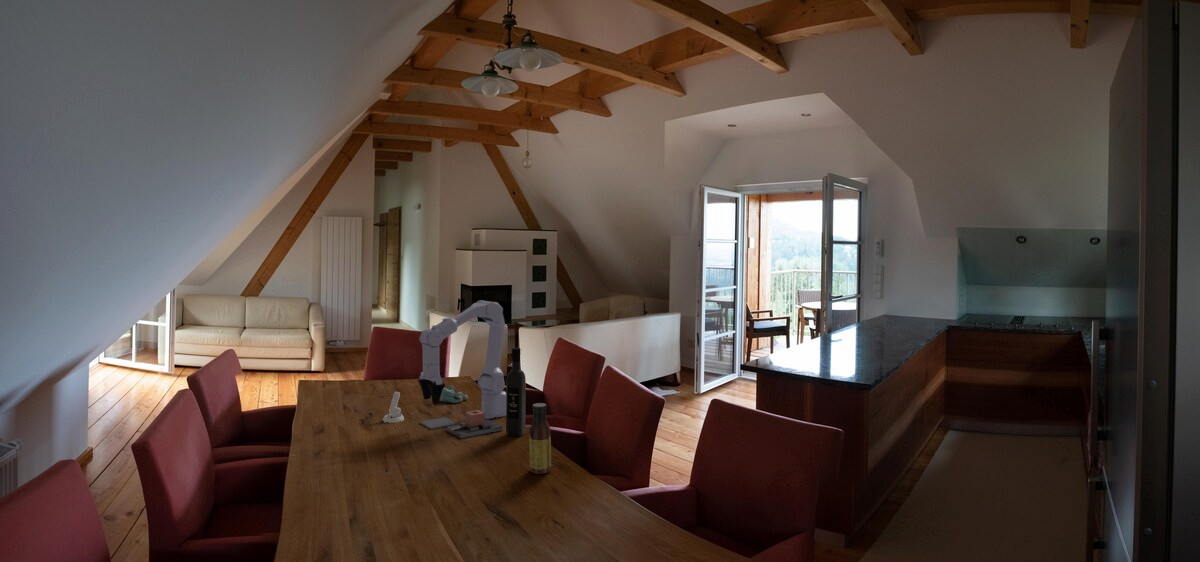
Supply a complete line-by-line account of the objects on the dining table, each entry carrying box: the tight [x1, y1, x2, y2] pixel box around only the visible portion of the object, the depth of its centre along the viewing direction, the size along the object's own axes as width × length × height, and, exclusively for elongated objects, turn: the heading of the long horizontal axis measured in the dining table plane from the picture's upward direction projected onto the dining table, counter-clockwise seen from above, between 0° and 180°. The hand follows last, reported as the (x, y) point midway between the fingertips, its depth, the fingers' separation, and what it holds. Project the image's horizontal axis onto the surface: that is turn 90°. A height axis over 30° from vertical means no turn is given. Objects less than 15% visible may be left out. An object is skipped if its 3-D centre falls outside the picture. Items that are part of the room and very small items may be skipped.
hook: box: [382, 391, 405, 424], centre depth 241 cm, size 8×12×7 cm
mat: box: [419, 416, 458, 431], centre depth 234 cm, size 10×10×1 cm
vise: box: [446, 419, 504, 440], centre depth 226 cm, size 17×11×6 cm, turn 128°
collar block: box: [464, 409, 486, 427], centre depth 226 cm, size 5×5×4 cm
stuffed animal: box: [440, 385, 469, 404], centre depth 267 cm, size 11×7×12 cm
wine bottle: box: [505, 347, 527, 438], centre depth 222 cm, size 6×6×30 cm
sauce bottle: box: [528, 402, 552, 475], centre depth 187 cm, size 7×6×20 cm
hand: (431, 401), depth 228 cm, fingers open, 7 cm apart
